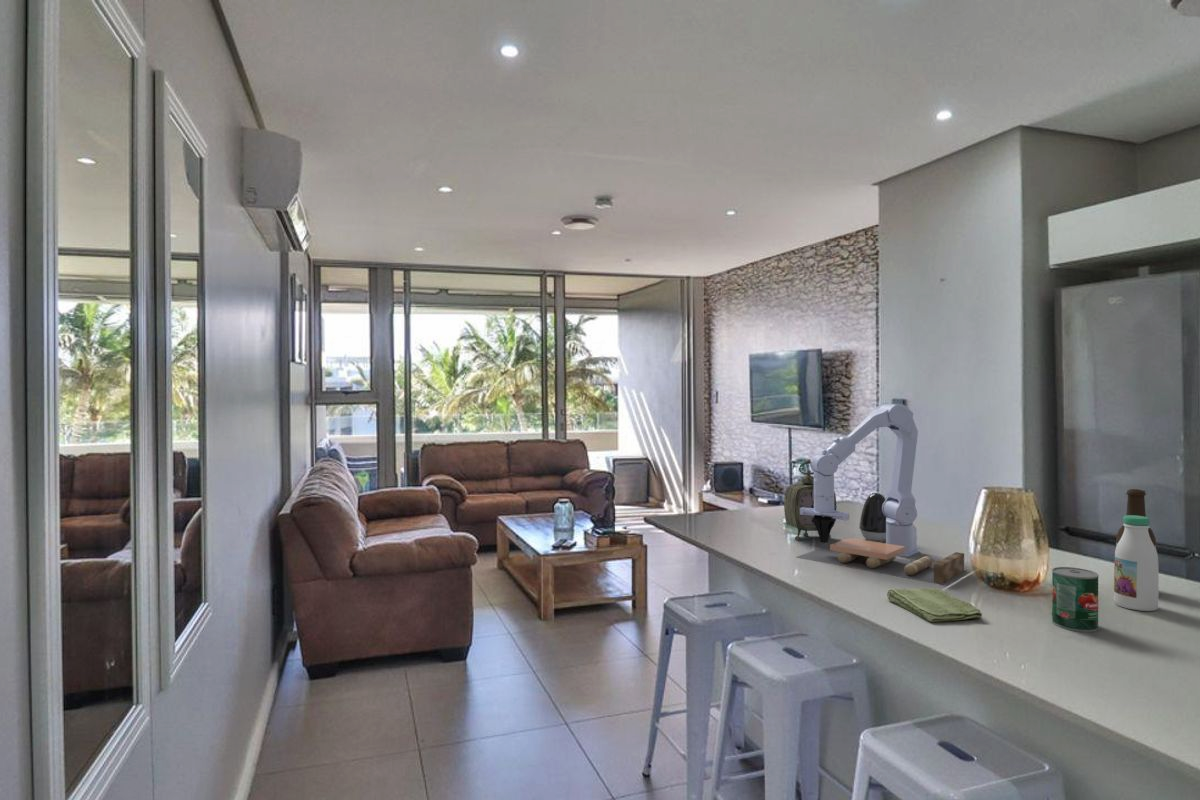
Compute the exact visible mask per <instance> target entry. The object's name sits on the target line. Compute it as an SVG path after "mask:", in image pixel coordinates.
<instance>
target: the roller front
mask: <svg viewBox="0 0 1200 800" xmlns="http://www.w3.org/2000/svg"><path fill="white" fill-rule="evenodd" d="M895 558H897V556H895V557H892V558H890V559H888V560H885V559H879V558H873V557H870V558H868V559H867V561H866V564H867V566H868V567H869V568H872V569H873V568H876V567H879V566H881V565H883V564H885V563H887V562H890V561H892V560H894V559H895Z"/></svg>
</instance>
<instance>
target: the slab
mask: <svg viewBox="0 0 1200 800" xmlns="http://www.w3.org/2000/svg"><path fill="white" fill-rule="evenodd" d="M829 547H830V550H833V551H839V552H844V553H850V554H856V555H862V556H868V557H873V558H879V559H885V560H888V559H890V558H892V557H895V556H896V557H897V556H900V555H899V554H901V553H904V552H905V546H899V545H893V544H887V543H886V542H874V541H869V540H867V539H860V538H854V537H847V538H845V539H842V540H839V541H837V542H834V543H831V544H829Z"/></svg>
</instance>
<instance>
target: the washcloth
mask: <svg viewBox="0 0 1200 800" xmlns="http://www.w3.org/2000/svg"><path fill="white" fill-rule="evenodd" d="M886 595H887V600H889V602H891V603H894V604H895V605H896V606H898V607H901V608H902V609H904V610H906V611H908V612H910V613H912V614H914V615H917V616H919V617H921V618H922V619H924V620H926V621H927V622H930V623H942V622H952V621H956V622H957V621H962V620H963V621H964V620H968V619H969V620H970V619H981V618H982V617H983V613H982V612H981V610H980V609H978V608H977V607H975V606H974V605H973V604H972V603H970V602H967V601H965V600H963V599H960V598H957V597H954V596H952V595H951V594H949V593H948V592H946V591H942V590H940V589H938V588H936V587H935V588H934V587H933V588H932V587H921V588H918V587H917V588H889V590H888V591H887V593H886Z"/></svg>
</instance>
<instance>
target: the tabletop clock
mask: <svg viewBox="0 0 1200 800" xmlns="http://www.w3.org/2000/svg"><path fill="white" fill-rule="evenodd" d="M811 462H812V461H805V462H803V463H801V464H800V465H799V466H798V471H799V473H801V475H805V476H803V477H802V478H801V480H800V482H798V483H791V484H790V485H788V486H786V489H785V492H784V500H783V501H784V502H783V507H784V508H783V509H784V511H783V512H784V518H785V522H786V524H787V525H788V526H790V527H794V528H795V529H797V535H796V536H795V537H794V539H795V541H801V536H800V535H801V532H802V531H804V532H803V534H802V536H803V537H805V538H806V537H809V533H808V531H809V532H810V531H811V532H818V531H817V529H816V526H815V524H814V523H813V521H812V518H814V516H811V515H800V508H803V507H805V508H814V471H811V470H810V469H809V470H807V471H806V472H803V471H802V470H801V468H802V467H803V466H804V465H810V463H811ZM836 497H837V496H836V491H834V510H835V511H837V498H836ZM826 516H828V515H826ZM834 526H835V524H834V525H833V527H834ZM831 537H832V535H829V539H828V540H830V539H831Z"/></svg>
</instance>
